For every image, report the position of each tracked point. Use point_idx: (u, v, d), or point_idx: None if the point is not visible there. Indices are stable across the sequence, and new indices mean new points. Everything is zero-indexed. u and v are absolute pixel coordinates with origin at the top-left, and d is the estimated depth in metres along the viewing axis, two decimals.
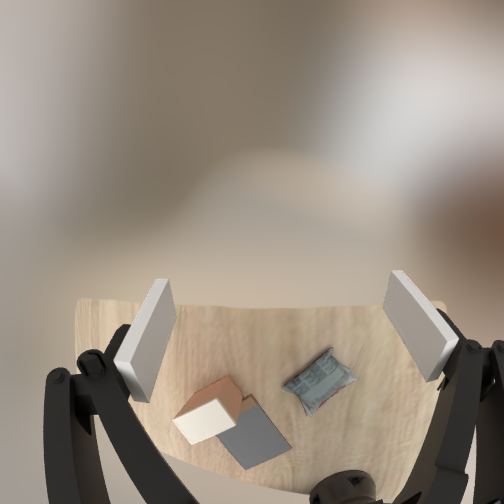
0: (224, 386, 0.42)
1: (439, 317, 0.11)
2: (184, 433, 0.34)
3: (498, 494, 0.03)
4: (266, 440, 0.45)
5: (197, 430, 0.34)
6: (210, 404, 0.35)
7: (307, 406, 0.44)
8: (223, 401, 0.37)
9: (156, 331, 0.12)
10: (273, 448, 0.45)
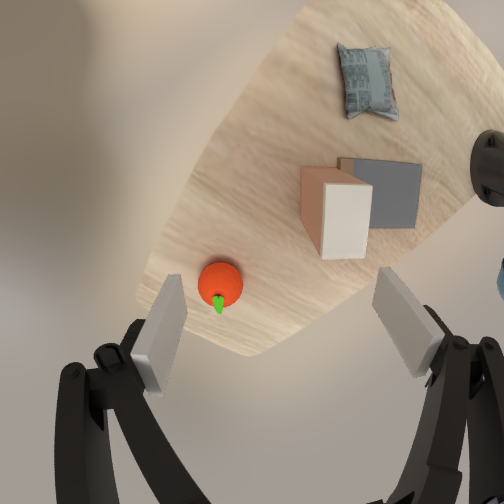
0: (313, 173, 0.32)
1: (425, 313, 0.11)
2: (346, 256, 0.29)
3: (494, 492, 0.03)
4: (398, 181, 0.39)
5: (351, 237, 0.28)
6: (328, 196, 0.26)
7: (386, 110, 0.32)
8: (332, 180, 0.28)
9: (170, 325, 0.13)
10: (411, 182, 0.39)
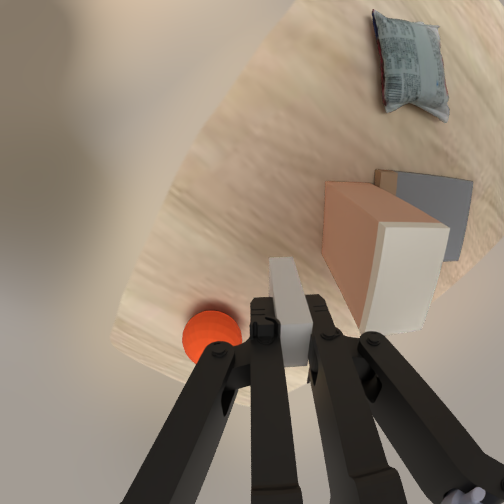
0: (350, 196, 0.21)
1: (302, 301, 0.13)
2: (397, 330, 0.17)
3: (452, 485, 0.04)
4: (446, 202, 0.27)
5: (410, 305, 0.16)
6: (387, 246, 0.15)
7: (436, 106, 0.20)
8: (388, 215, 0.16)
9: None
10: (460, 203, 0.27)
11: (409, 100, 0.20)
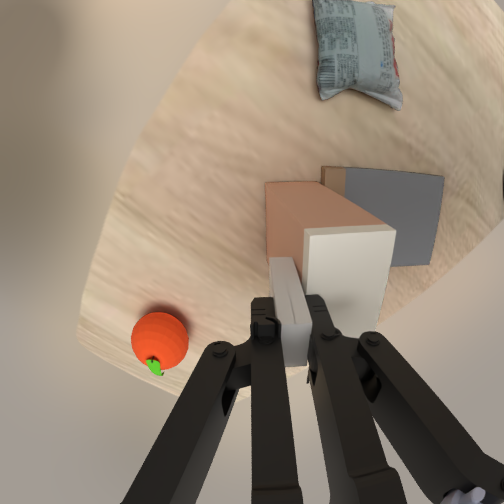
0: (283, 199, 0.20)
1: (302, 301, 0.13)
2: None
3: (452, 485, 0.04)
4: (410, 200, 0.26)
5: (353, 319, 0.16)
6: (314, 257, 0.14)
7: (383, 91, 0.19)
8: (320, 219, 0.15)
9: None
10: (428, 201, 0.26)
11: (346, 84, 0.19)
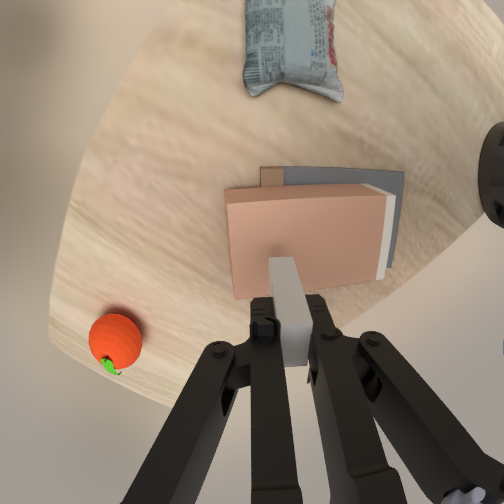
0: (318, 196, 0.20)
1: (302, 301, 0.13)
2: None
3: (452, 486, 0.04)
4: None
5: None
6: (392, 207, 0.22)
7: (317, 82, 0.19)
8: (366, 192, 0.22)
9: None
10: None
11: (274, 78, 0.19)
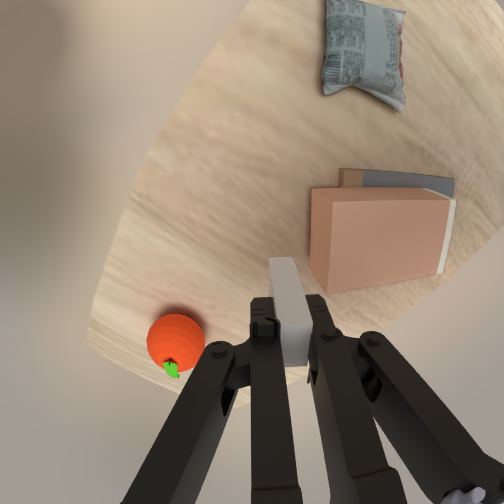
0: (402, 199, 0.21)
1: (303, 301, 0.13)
2: None
3: (452, 485, 0.04)
4: None
5: None
6: (453, 210, 0.22)
7: (386, 91, 0.20)
8: (433, 196, 0.22)
9: None
10: None
11: (351, 81, 0.19)
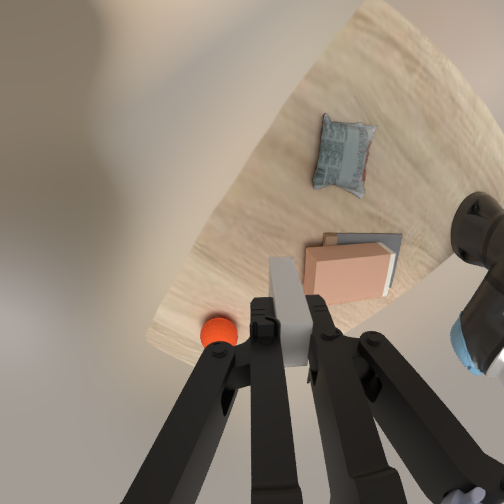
0: (357, 256, 0.40)
1: (303, 301, 0.13)
2: None
3: (452, 485, 0.04)
4: None
5: None
6: (393, 259, 0.41)
7: (352, 188, 0.39)
8: (380, 251, 0.41)
9: None
10: None
11: (330, 184, 0.38)
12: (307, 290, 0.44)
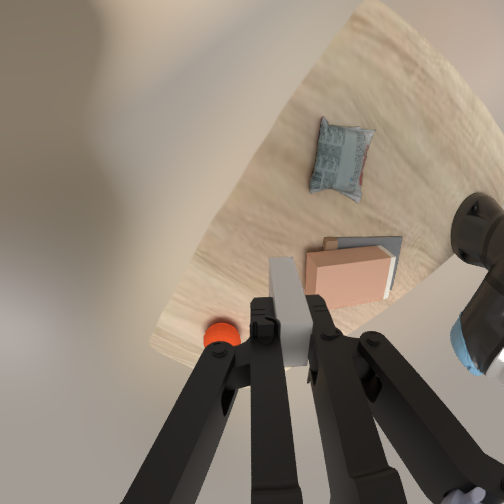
0: (358, 261, 0.40)
1: (303, 301, 0.13)
2: None
3: (452, 485, 0.04)
4: None
5: None
6: (394, 262, 0.41)
7: (349, 192, 0.39)
8: (380, 254, 0.42)
9: None
10: None
11: (326, 188, 0.38)
12: (308, 294, 0.45)
